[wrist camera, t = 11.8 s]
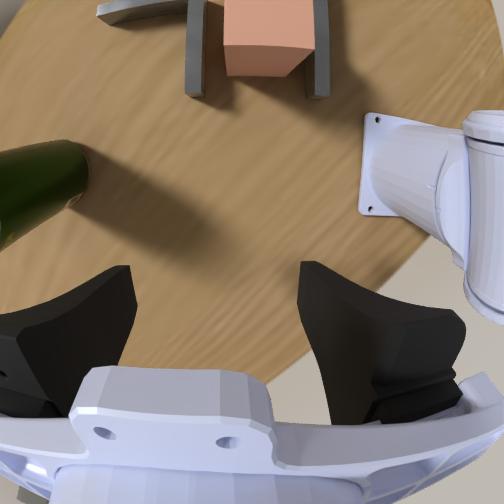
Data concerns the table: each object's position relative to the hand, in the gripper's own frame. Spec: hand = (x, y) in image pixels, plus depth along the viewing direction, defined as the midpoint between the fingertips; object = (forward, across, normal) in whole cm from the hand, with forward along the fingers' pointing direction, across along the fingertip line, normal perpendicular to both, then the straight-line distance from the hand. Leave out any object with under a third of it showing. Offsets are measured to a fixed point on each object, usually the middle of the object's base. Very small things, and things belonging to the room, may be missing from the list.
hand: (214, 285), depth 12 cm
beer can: (+11, +12, -4) cm, 17 cm away
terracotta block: (+10, -2, -12) cm, 16 cm away
